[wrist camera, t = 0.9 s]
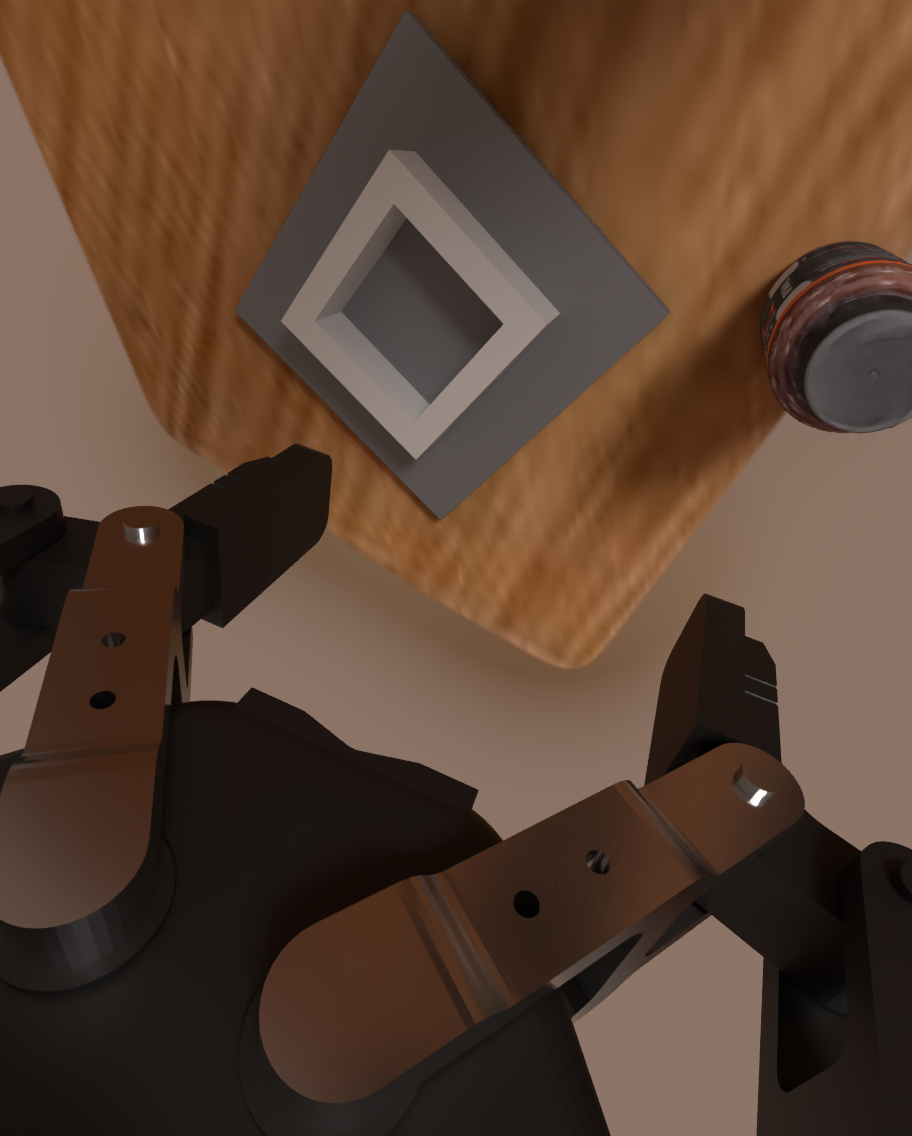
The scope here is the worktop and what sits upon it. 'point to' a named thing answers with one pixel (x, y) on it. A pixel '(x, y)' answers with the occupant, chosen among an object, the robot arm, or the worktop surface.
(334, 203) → the collar plate
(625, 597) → the worktop surface
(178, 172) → the worktop surface
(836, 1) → the worktop surface
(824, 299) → the supplement bottle
